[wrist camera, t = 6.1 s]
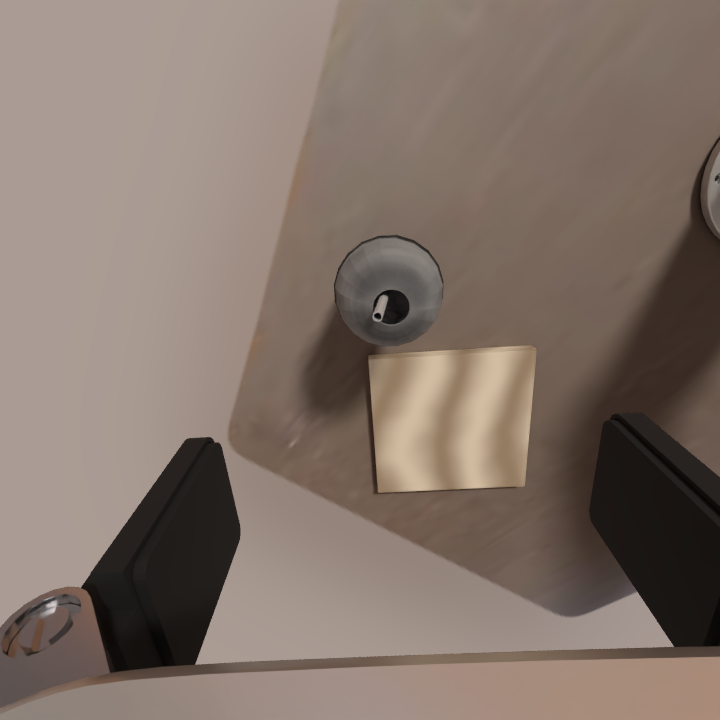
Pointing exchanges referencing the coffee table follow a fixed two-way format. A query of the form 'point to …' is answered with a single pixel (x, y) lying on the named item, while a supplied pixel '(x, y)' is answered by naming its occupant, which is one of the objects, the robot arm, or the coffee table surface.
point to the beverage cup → (389, 290)
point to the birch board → (452, 418)
